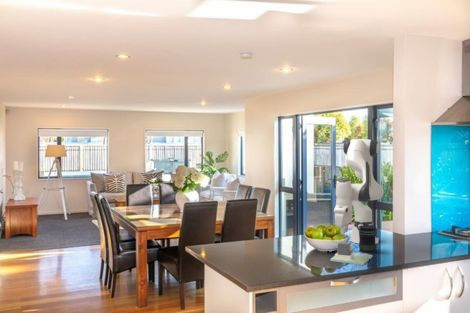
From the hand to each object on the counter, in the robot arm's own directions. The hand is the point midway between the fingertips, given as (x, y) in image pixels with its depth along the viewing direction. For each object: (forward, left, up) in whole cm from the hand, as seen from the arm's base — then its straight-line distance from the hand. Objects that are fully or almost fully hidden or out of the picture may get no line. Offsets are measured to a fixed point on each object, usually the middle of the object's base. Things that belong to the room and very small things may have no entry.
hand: (344, 232), depth 244 cm
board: (-4, +3, -15) cm, 16 cm away
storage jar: (-27, +6, -15) cm, 32 cm away
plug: (0, 0, -14) cm, 14 cm away
